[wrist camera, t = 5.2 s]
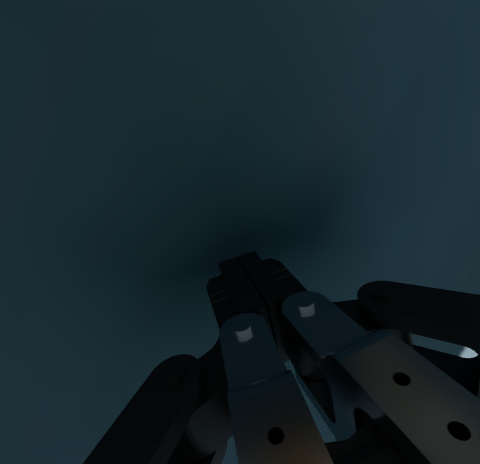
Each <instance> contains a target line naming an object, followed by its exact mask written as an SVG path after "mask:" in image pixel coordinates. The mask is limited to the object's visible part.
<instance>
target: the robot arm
mask: <svg viewBox="0 0 480 464" xmlns="http://www.w3.org/2000/svg"><path fill="white" fill-rule="evenodd" d="M218 265H219V269H220V272H221V275H220V276H217V277H214V278H211V279H209V282H208V284H207V287H206V288H207V291H208V295H209V298H210V301H211V304H212V307H213V310H214V314H215V317H216V320H217V323H218V326H219V330H220V331H219V338H218V341H217V342H216V344H215V345H214V347H213V348H212V349H211V350H210V351H208V352H207V353H206V354H205V355H203V356H202V357H200V358H199V359H196V358H195V357H193V356H191V355H186V354H182V355H176V356H173V357H170V358H168V359H166V360H165V361H163V362H162V363H160V364H159V365H158V366H157V367H156V368H155V369H154V370H153V371H152V372H151V374H150V375H149V376H148V378H147V379H146V380H145V382H144V383H143V384H142V386H141V387H140V388H139V390H138V391H137V392H136V394H135V395H134V396H133V398H132V399H131V400H130V402H129V403H128V404H127V406H126V407H125V408H124V410H123V411H122V412H121V414H120V415H119V416H118V418H117V419H116V420H115V422H114V423H113V424H112V426H111V427H110V428H109V430H108V431H107V432H106V434H105V435H104V436H103V438H102V439H101V440H100V442H99V443H98V444H97V446H96V447H95V448H94V450H93V451H92V452H91V454H90V455H89V456H88V458H87V459H86V460H85V462H84V463H83V464H221V462H222V460H223V457H224V455H225V452H226V449H227V440H228V439H229V438H230V437H231V436H232V435H234V441H235V447H236V452H237V458H238V464H480V295H477V294H470V293H463V292H457V291H450V290H444V289H437V288H430V287H424V286H417V285H411V284H404V283H397V282H391V281H374V282H370V283H367V284H365V285H363V286H362V287H361V288H360V289H359V290H358V294H357V296H358V299H356V300H349V301H342V302H331V301H330V300H329V299H327V298H326V297H325V296H324V295H322V294H320V293H317V292H311V291H307V290H306V289H305V288H304V287H303V285H302V284H301V283H300V282H299V281H298V280H297V279H296V278H295V277H294V276H293V275H291V273H290V272H289V271H288V269H286V267H285V266H284V265H283V264H282V263H281V262H280V261H277V260H274V259H272V258H269V259H266V260H263V261H262V260H261V259H260V257H259V256H258V255H257V254H256V252H255V251H252V252H249V253H246V254H243V255H240V256H237V258H236V257H235V258H232V259H229V260H226V261H223V262H220V263H218ZM413 334H416V335H421V336H425V337H429V338H433V339H437V340H441V341H446V342H450V343H454V344H458V345H462V346H466V347H468V348H471V349H472V350H474V351H475V352H476V353H477V354H478V356H476V357H474V358H462V357H459V356H455V355H451V354H447V353H443V352H439V351H436V350H432V349H428V348H424V347H420V346H416V345H413ZM289 360H290V361H291V362H292V364H293V366H294V369H295V374H296V378H297V381H298V383H299V384H300V386H301V387H302V389H303V390H304V392H305V393H306V395H307V396H308V397H309V399H310V400H311V402H312V403H313V405H314V406H315V408H316V409H317V411H318V412H319V414H320V415H321V417H322V418H323V420H324V421H325V423H326V424H327V426H328V427H329V429H330V430H331V432H332V433H333V435H334V437H335V439H336V441H335V442H329V443H324V441H323V439H322V437H321V435H320V432H319V430H318V428H317V426H316V423H315V421H314V419H313V417H312V415H311V412H310V410H309V408H308V406H307V404H306V401H305V399H304V397H303V395H302V393H301V390H300V388H299V386H298V384H297V381H296V379H295V377H294V375H293V373H292V372H291V370H288V371H287V369H286V366H285V364H284V362H287V361H289Z"/></svg>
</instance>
